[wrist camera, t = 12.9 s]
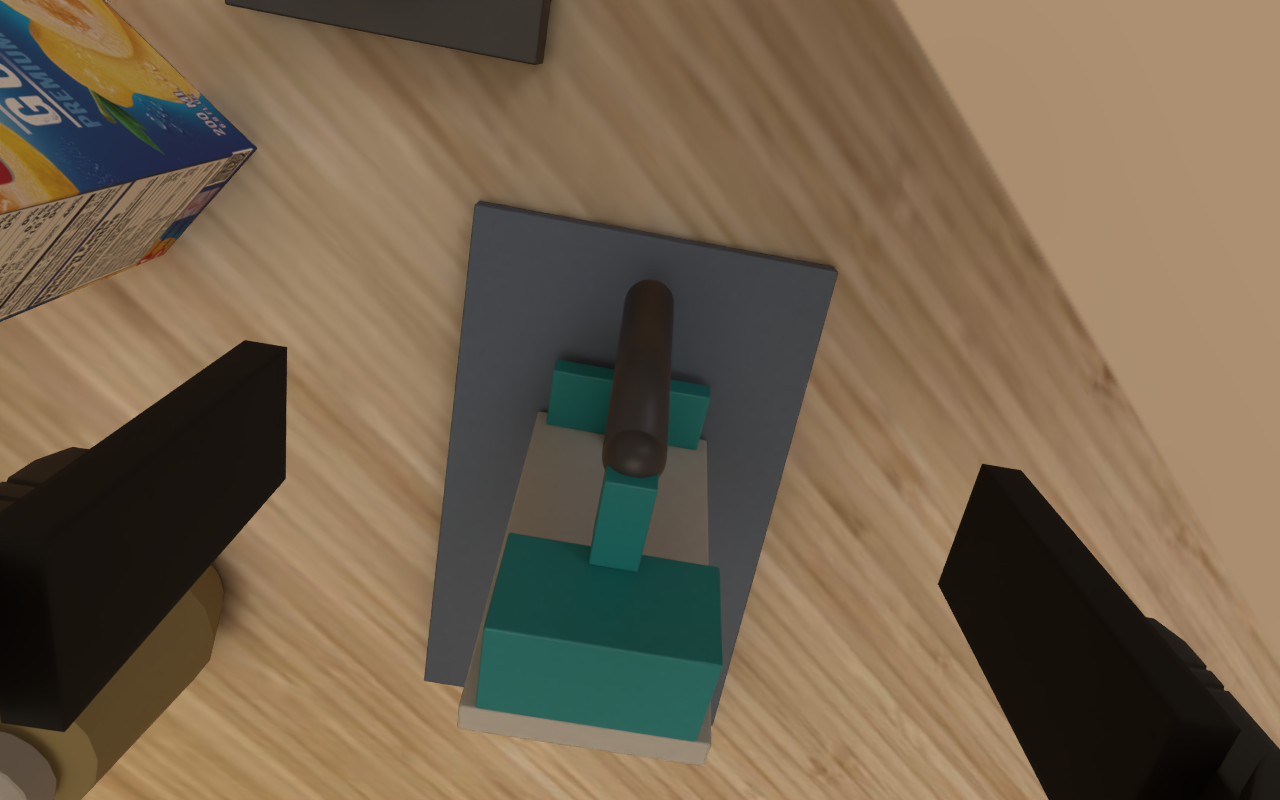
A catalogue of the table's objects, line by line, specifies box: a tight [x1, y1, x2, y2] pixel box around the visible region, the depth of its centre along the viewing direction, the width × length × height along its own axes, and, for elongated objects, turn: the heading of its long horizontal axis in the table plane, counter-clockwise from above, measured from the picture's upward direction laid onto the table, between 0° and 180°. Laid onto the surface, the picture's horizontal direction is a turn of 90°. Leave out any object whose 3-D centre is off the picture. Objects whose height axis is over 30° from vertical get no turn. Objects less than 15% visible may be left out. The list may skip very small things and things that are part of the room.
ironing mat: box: [424, 201, 838, 726], centre depth 42 cm, size 16×26×1 cm, turn 170°
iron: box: [457, 279, 723, 766], centre depth 31 cm, size 16×8×10 cm
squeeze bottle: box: [0, 565, 224, 800], centre depth 37 cm, size 8×8×18 cm
